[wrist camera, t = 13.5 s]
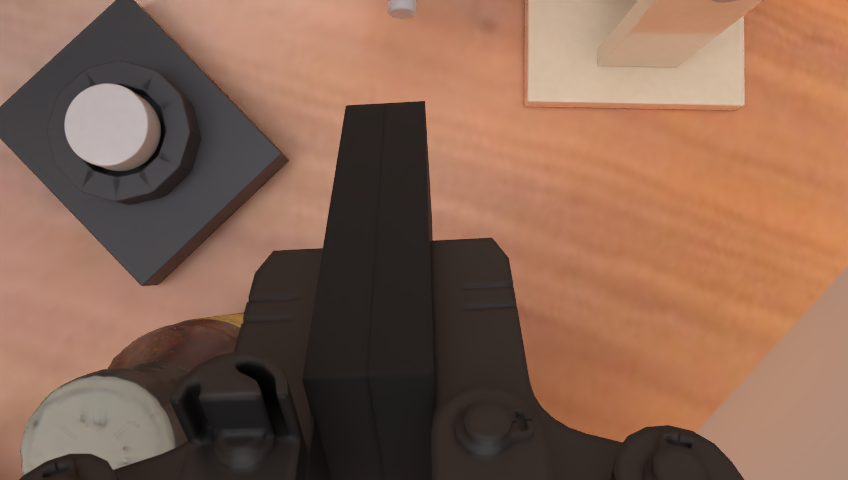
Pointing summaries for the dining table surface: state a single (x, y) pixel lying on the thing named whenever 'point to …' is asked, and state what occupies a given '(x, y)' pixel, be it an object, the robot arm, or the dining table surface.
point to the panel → (171, 162)
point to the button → (112, 127)
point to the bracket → (635, 53)
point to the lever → (402, 8)
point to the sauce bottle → (127, 398)
